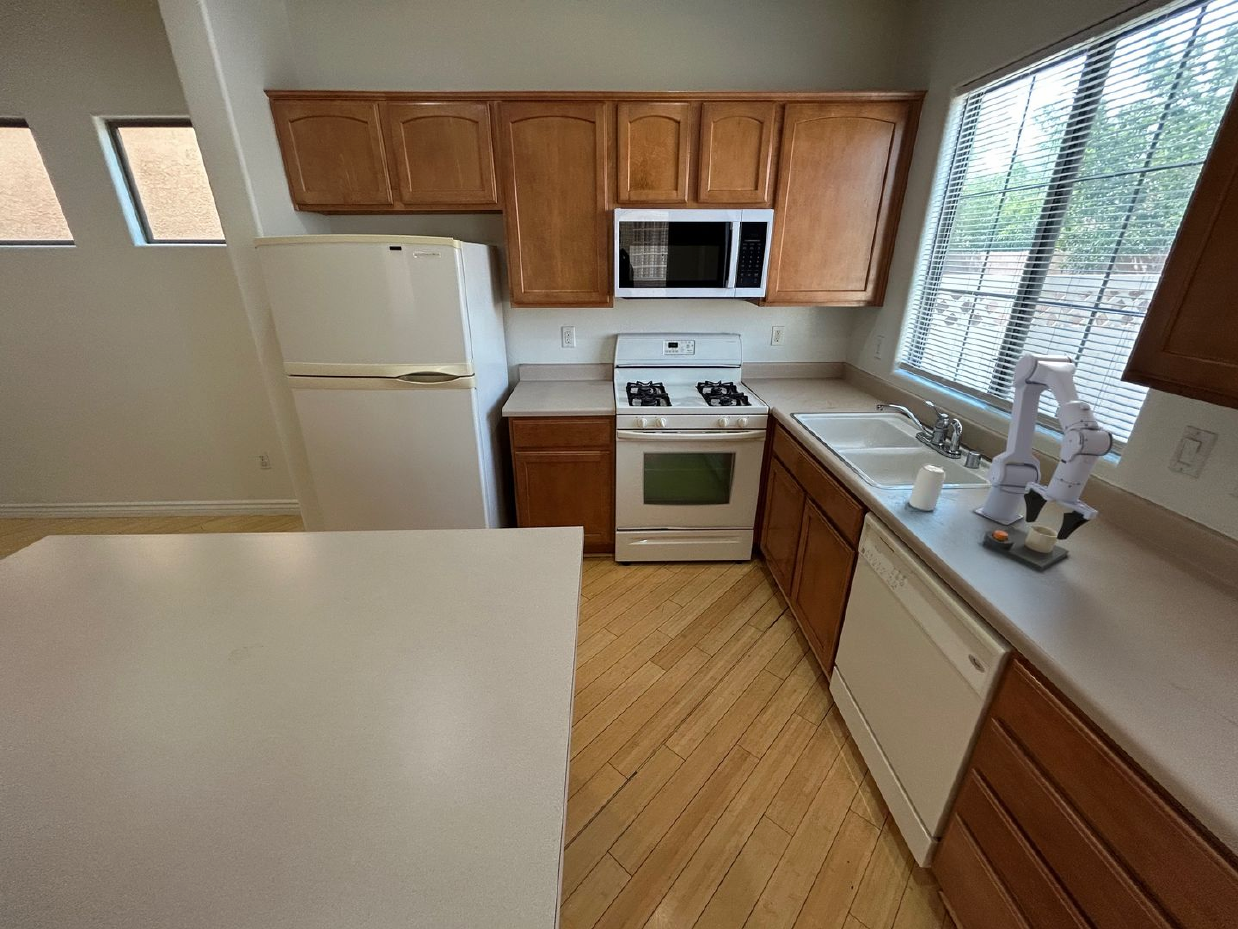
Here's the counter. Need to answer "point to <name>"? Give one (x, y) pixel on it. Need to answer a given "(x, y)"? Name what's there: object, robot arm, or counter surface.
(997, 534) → the tare button
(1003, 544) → the scale
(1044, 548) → the bowl
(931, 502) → the can
